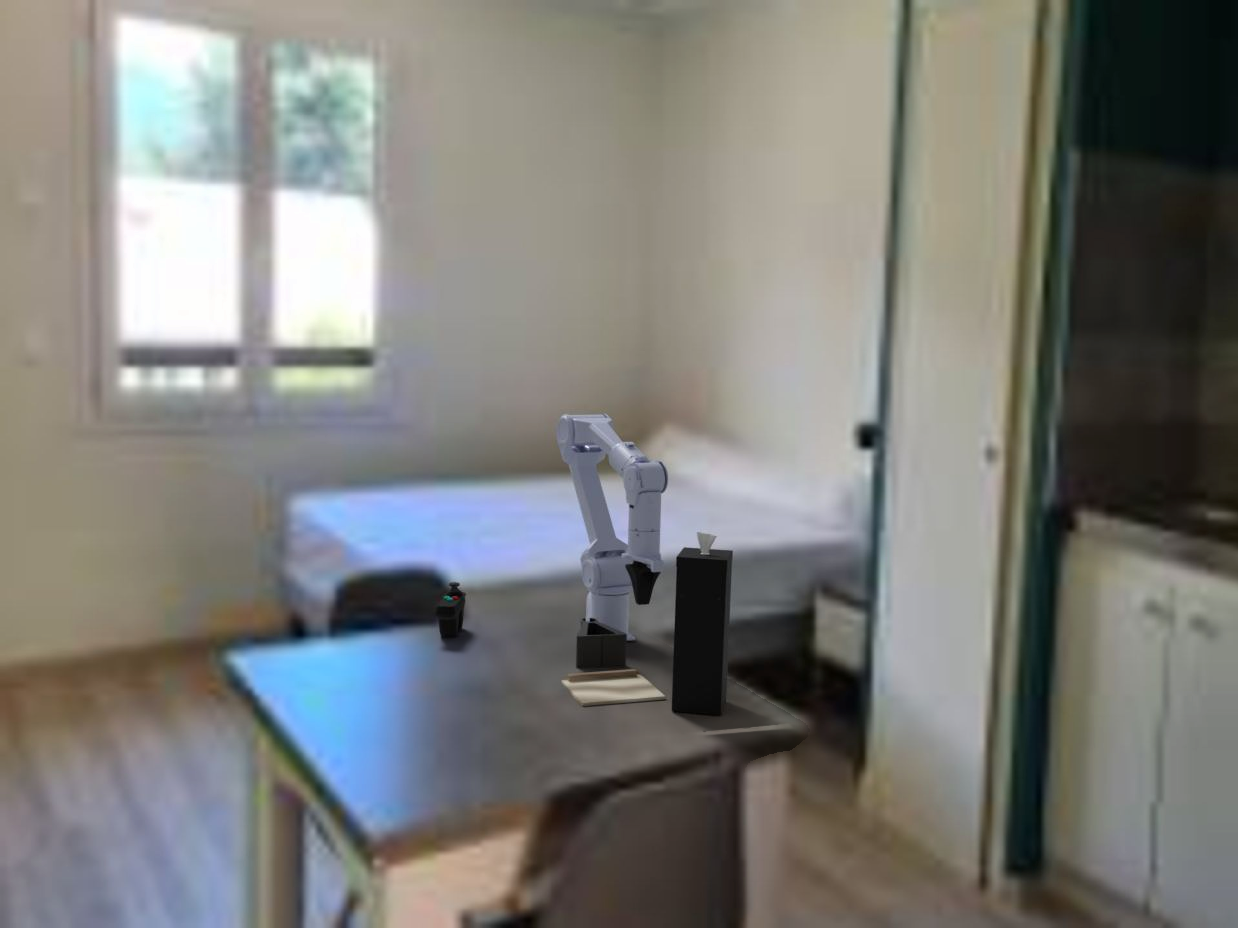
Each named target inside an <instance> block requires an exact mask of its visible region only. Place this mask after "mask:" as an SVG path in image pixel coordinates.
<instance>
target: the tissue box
mask: <svg viewBox="0 0 1238 928" xmlns="http://www.w3.org/2000/svg"><path fill="white" fill-rule="evenodd" d="M696 536H697V540H698V541H697V542H698V546H699V548H698V547H683V548H682V549H681V551H680V552H679V553H678V554H677V555H676V558H675V559H676V560H675V567H676V577H675V578H676V579H675V580H676V581H675V601H674V602H675V604H674V607H675V608H674V609H675V610H674V632H673V633H674V634H673V662H672V664H673V665H672V691H671V711H672V712H678V713H679V712H680V713H691V714H699V715H710V716H711V715H712V716H719V717H720V716H722V713H723V711H724V708H725V705H726V701H727V692H728V688H727V687H728V669H729V668H728V665H729V642H730V621H731V620H730V615H731V597H732V596H731V593H732V569H733V568H732V567H733V553H734V550H732V549H730V550H729V549H728V550H727V549H715V548H714V549H713V548H711V547H712V546H713V544H714V542H715V541H716V538H717V535H714V534H710V533H703V532H701V531H700V532H699V531H697V532H696Z"/></svg>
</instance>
